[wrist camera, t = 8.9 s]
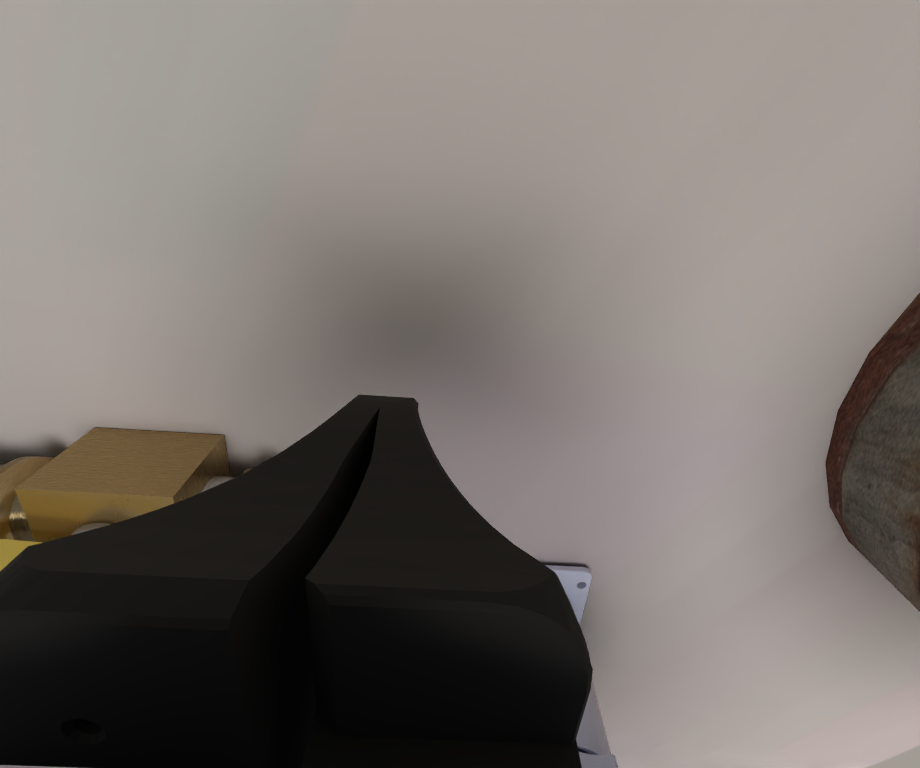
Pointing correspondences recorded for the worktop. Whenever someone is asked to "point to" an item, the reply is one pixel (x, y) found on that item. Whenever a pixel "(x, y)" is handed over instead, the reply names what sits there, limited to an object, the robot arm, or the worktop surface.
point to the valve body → (106, 480)
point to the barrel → (882, 457)
